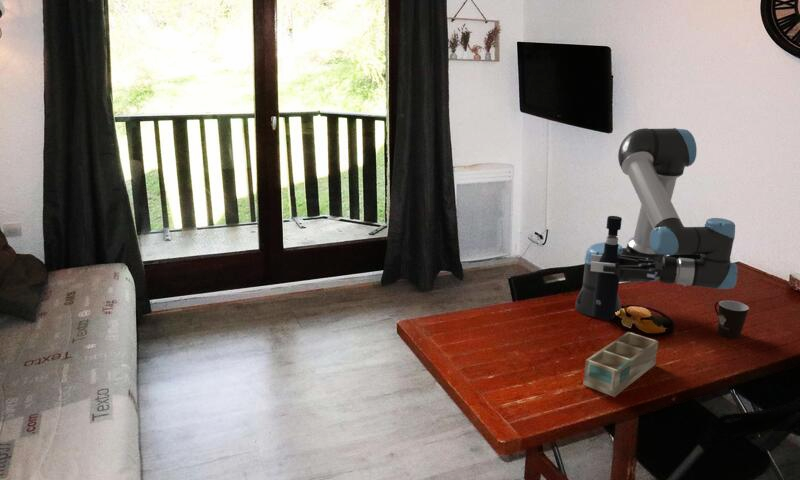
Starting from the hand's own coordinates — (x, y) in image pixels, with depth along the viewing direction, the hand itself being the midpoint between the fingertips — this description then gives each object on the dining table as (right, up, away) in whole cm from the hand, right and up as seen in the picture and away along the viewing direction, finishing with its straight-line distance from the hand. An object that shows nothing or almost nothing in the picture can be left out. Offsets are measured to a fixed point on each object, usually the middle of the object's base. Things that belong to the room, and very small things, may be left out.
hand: (591, 262), depth 194 cm
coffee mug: (+51, -24, +22) cm, 60 cm away
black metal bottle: (+5, -16, +4) cm, 17 cm away
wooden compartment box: (+6, -31, -7) cm, 33 cm away
